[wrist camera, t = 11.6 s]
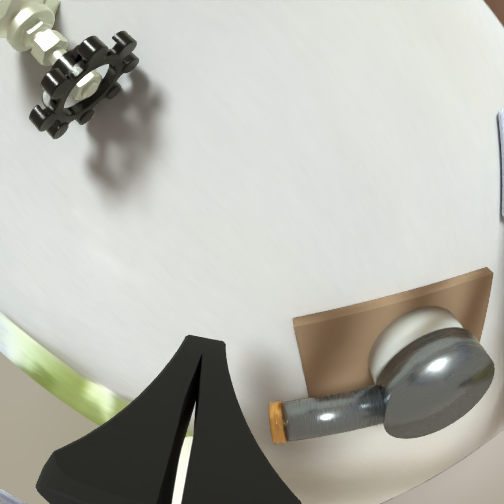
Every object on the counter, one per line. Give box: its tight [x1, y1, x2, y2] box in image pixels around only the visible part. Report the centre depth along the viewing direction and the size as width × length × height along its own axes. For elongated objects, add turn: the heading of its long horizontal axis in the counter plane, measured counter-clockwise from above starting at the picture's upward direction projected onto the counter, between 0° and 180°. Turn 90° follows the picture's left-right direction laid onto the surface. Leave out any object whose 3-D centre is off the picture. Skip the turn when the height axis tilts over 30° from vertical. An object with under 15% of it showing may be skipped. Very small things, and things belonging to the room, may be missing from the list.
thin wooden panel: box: [293, 267, 493, 398], centre depth 22 cm, size 16×14×4 cm
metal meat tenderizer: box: [269, 327, 495, 444], centre depth 18 cm, size 16×9×3 cm, turn 101°
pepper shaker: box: [172, 436, 193, 504], centre depth 24 cm, size 5×5×11 cm
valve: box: [0, 0, 139, 139], centre depth 11 cm, size 7×7×12 cm
